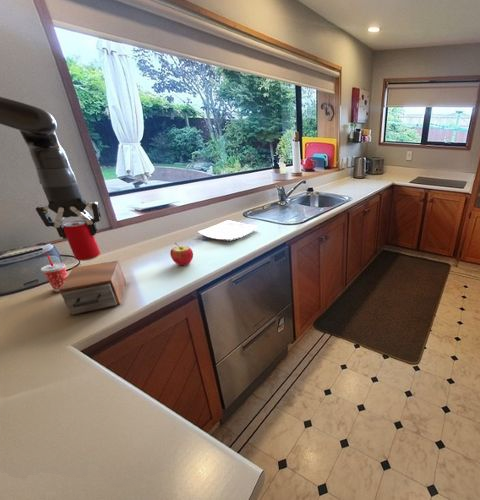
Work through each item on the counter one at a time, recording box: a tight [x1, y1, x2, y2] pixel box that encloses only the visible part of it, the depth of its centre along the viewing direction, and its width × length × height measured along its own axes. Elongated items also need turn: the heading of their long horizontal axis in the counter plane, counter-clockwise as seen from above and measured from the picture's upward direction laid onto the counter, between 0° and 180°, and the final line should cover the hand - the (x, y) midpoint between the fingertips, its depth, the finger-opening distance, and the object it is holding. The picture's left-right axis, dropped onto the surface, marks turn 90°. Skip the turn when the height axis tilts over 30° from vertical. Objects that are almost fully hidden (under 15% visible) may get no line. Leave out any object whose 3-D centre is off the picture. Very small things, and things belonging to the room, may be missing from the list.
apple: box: [169, 242, 194, 266], centre depth 121 cm, size 8×8×10 cm
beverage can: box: [63, 219, 101, 262], centre depth 89 cm, size 6×6×12 cm
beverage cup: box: [40, 253, 69, 293], centre depth 99 cm, size 6×6×14 cm
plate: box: [197, 219, 259, 242], centre depth 155 cm, size 24×24×3 cm
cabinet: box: [59, 260, 127, 316], centre depth 96 cm, size 16×13×10 cm
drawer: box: [61, 283, 118, 315], centre depth 93 cm, size 19×11×8 cm, turn 30°
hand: (80, 236), depth 88 cm, fingers closed on beverage can, 6 cm apart
